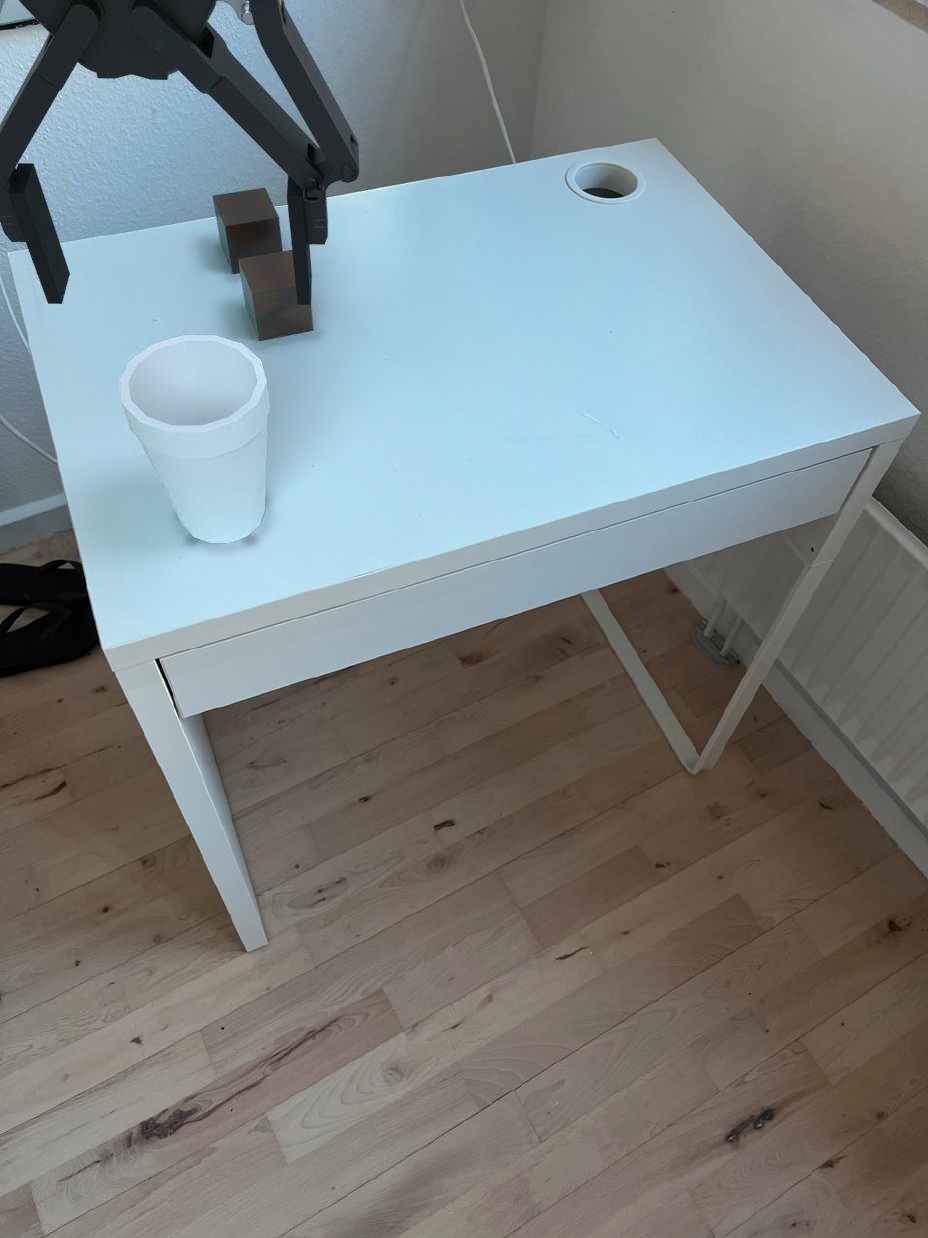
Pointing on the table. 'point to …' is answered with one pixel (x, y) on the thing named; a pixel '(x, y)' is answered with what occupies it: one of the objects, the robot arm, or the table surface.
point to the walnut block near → (273, 296)
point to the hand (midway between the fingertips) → (183, 289)
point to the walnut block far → (247, 225)
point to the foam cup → (203, 430)
